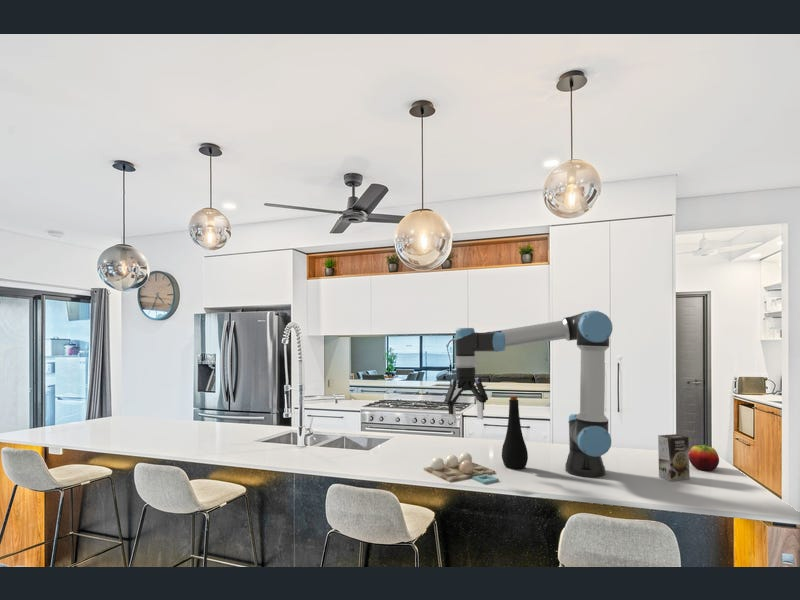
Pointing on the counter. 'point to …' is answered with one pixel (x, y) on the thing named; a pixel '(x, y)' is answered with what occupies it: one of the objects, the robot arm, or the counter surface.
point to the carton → (458, 472)
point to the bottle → (514, 439)
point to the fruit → (703, 457)
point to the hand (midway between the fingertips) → (466, 420)
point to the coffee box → (673, 457)
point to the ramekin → (481, 477)
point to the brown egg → (466, 467)
